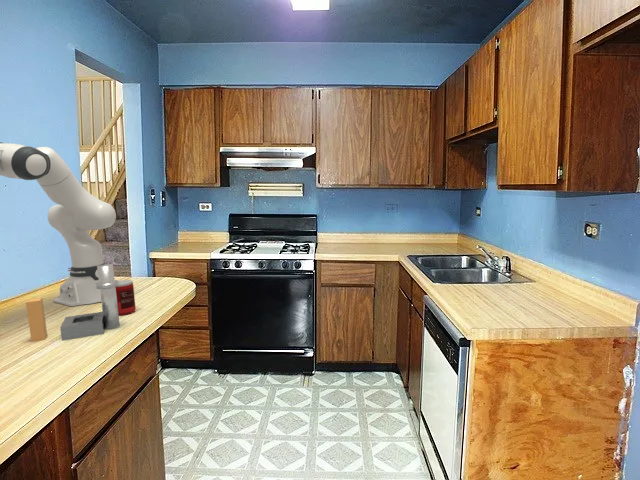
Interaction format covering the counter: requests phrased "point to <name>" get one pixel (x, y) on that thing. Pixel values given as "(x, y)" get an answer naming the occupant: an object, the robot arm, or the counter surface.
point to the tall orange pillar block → (36, 319)
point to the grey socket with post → (99, 320)
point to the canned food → (125, 297)
